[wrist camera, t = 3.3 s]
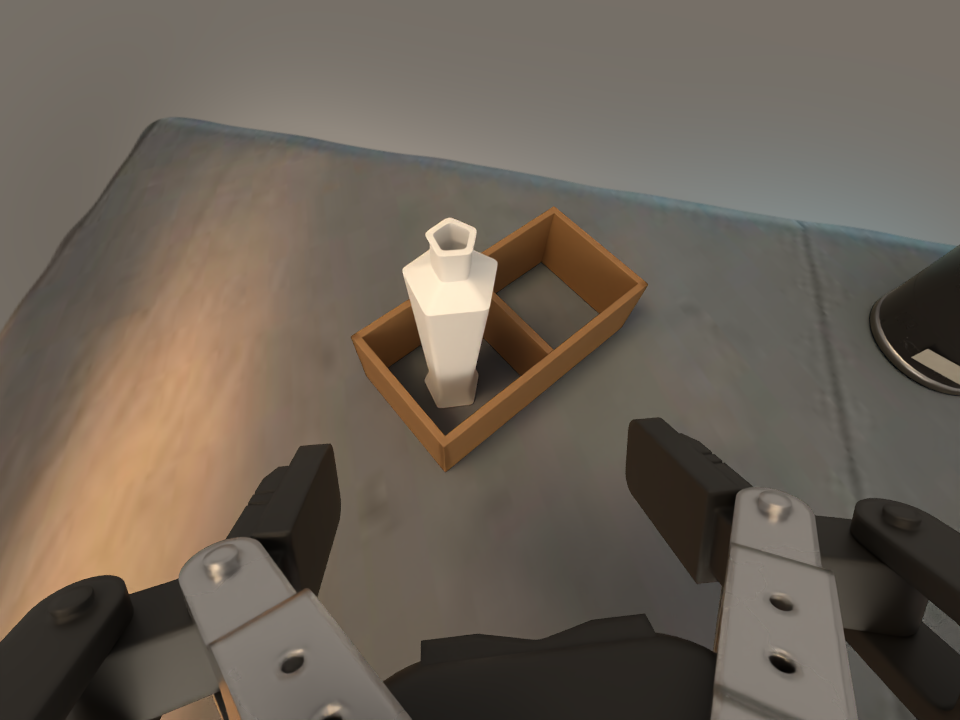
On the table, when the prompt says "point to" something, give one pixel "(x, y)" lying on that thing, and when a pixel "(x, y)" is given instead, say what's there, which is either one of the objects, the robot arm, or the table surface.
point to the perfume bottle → (451, 309)
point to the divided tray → (510, 330)
